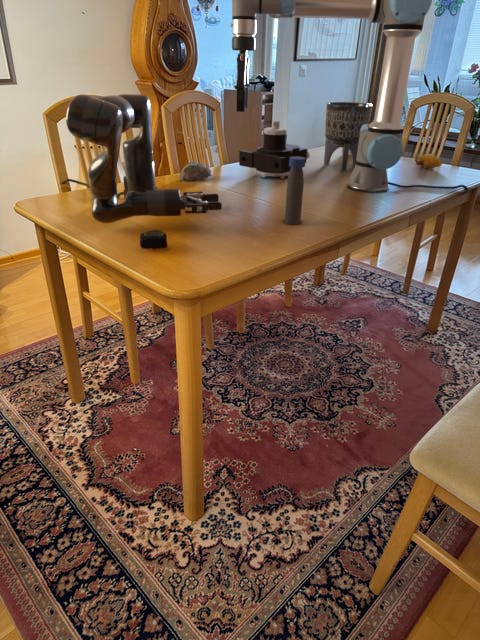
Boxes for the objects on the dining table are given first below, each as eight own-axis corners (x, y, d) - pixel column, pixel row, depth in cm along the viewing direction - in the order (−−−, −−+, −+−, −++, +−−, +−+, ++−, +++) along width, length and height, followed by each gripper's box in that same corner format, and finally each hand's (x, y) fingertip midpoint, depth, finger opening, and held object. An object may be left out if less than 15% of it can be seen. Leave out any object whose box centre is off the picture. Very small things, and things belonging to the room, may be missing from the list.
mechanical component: (240, 120, 182) (283, 115, 202) (239, 174, 192) (280, 164, 212) (283, 126, 170) (325, 120, 190) (280, 183, 180) (320, 171, 200)
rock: (203, 174, 190) (203, 158, 187) (216, 178, 185) (216, 162, 181) (177, 179, 183) (176, 162, 179) (189, 183, 177) (189, 166, 174)
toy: (416, 161, 206) (411, 154, 219) (419, 175, 209) (413, 167, 222) (442, 153, 203) (435, 147, 216) (444, 167, 206) (437, 160, 219)
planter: (313, 167, 208) (319, 103, 195) (331, 160, 222) (338, 101, 209) (353, 173, 199) (362, 107, 185) (369, 166, 213) (379, 104, 199)
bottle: (281, 222, 138) (286, 159, 129) (289, 218, 142) (293, 157, 132) (295, 225, 136) (301, 161, 127) (302, 221, 139) (308, 159, 130)
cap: (286, 166, 130) (286, 158, 129) (293, 163, 133) (294, 155, 132) (300, 168, 128) (300, 160, 126) (307, 166, 131) (308, 157, 130)
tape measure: (140, 252, 115) (139, 238, 113) (141, 242, 120) (140, 229, 119) (167, 251, 116) (166, 237, 114) (167, 241, 121) (166, 228, 120)
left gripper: (162, 196, 122) (222, 195, 124) (162, 183, 134) (217, 182, 136) (164, 223, 126) (222, 221, 128) (164, 208, 138) (217, 207, 140)
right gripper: (235, 37, 155) (234, 105, 166) (227, 34, 133) (227, 113, 144) (257, 37, 154) (255, 106, 165) (253, 34, 133) (251, 113, 144)
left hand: (219, 201), depth 132 cm, fingers open, 8 cm apart
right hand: (242, 109), depth 155 cm, fingers open, 13 cm apart
